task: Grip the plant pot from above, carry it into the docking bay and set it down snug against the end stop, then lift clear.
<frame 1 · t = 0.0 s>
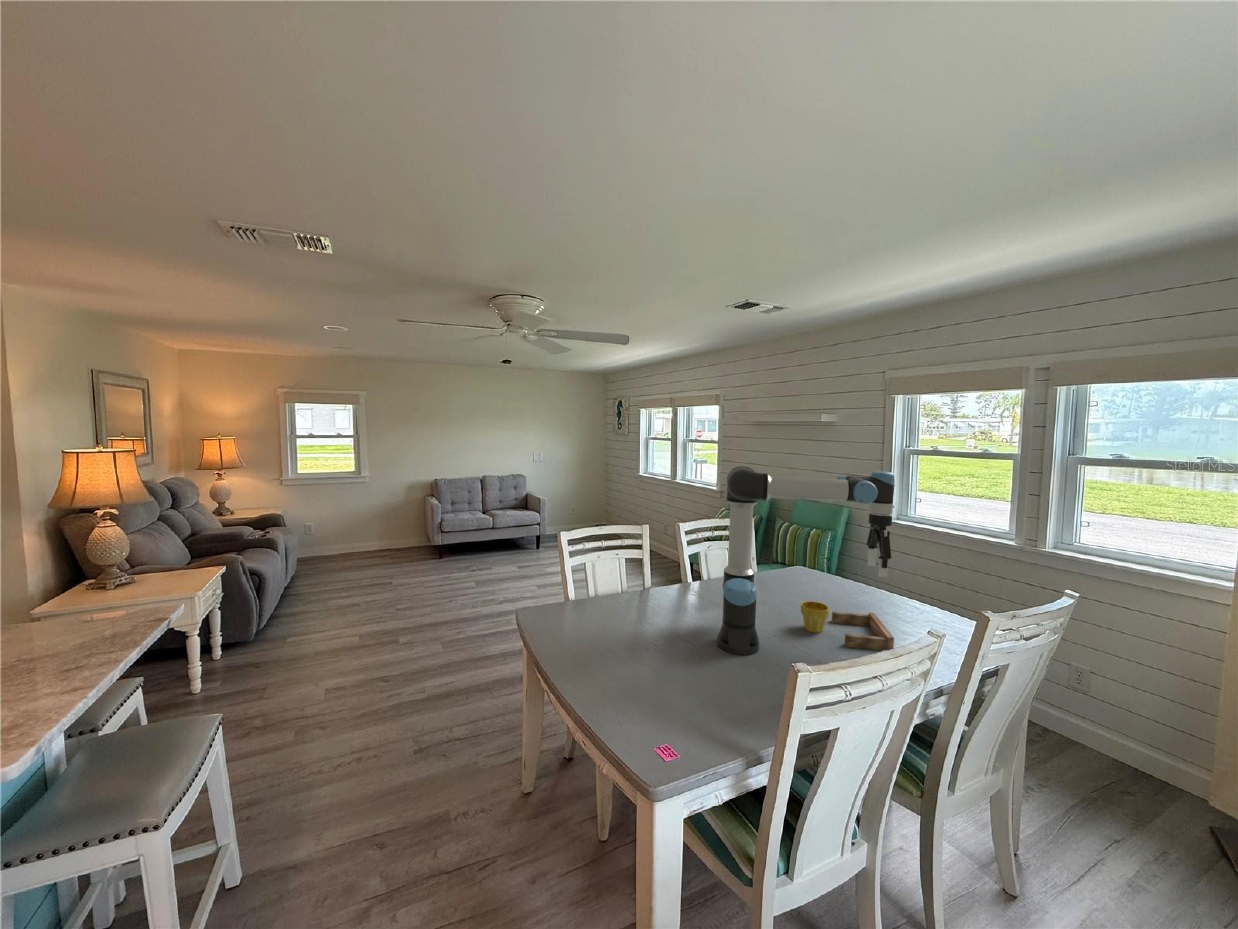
hand: (876, 571, 181), 28 cm above the table, tool pointing down, fingers open, 13 cm apart
docking bay: (857, 634, 192), on the table
plant pot: (813, 630, 196), on the table
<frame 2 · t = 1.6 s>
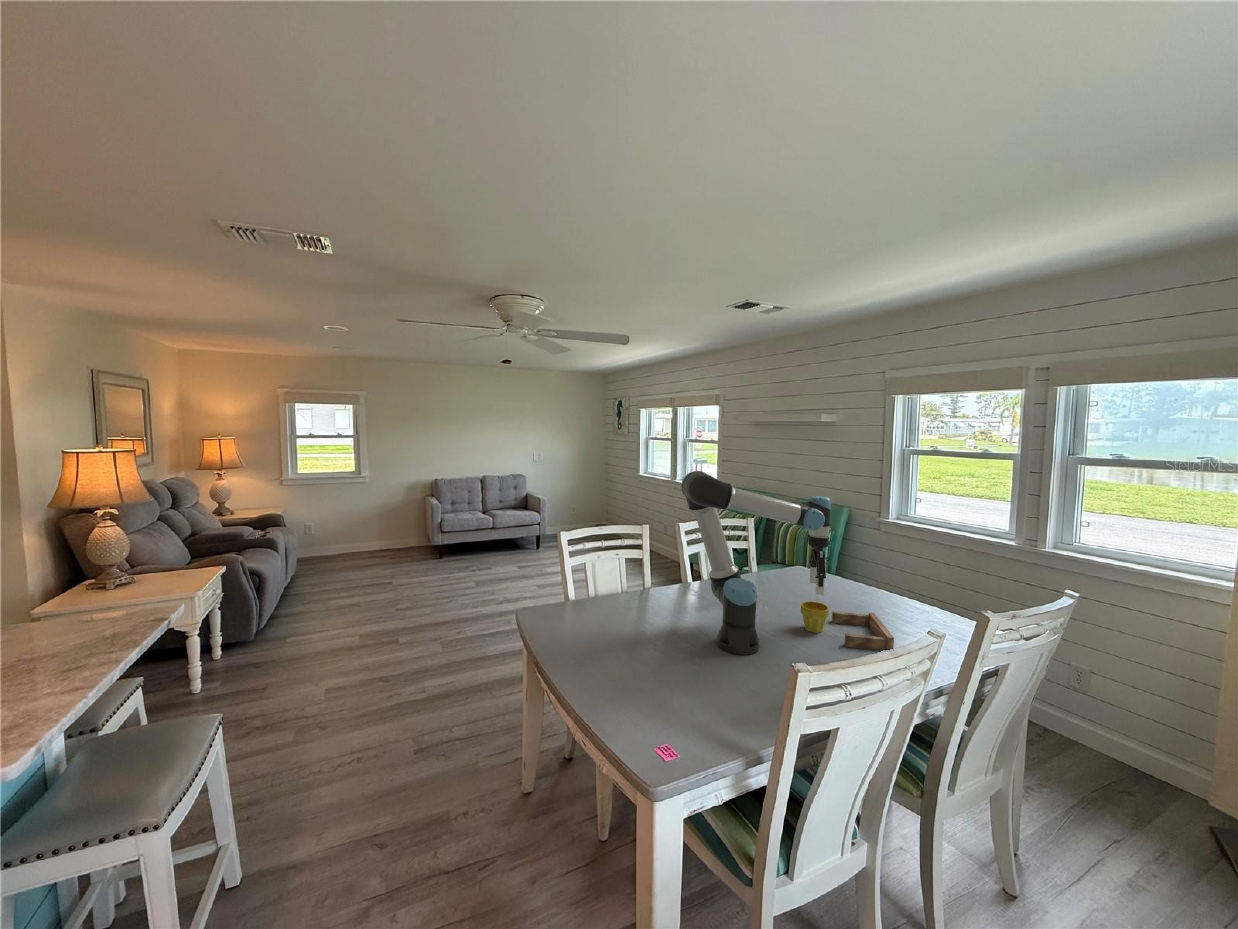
hand: (816, 588, 194), 17 cm above the table, tool pointing down, fingers open, 13 cm apart
nothing on the table moved.
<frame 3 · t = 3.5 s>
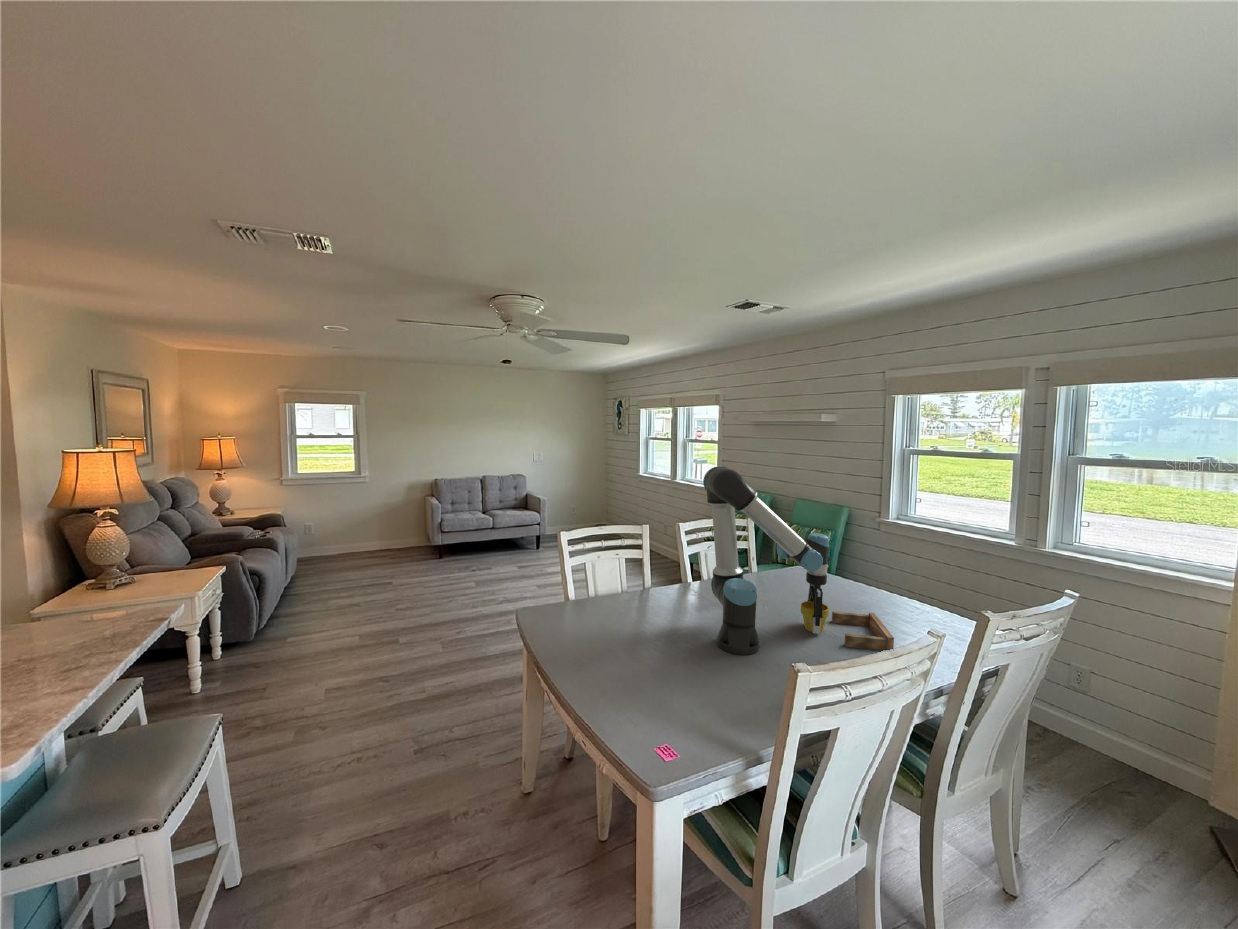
hand: (813, 627, 196), 1 cm above the table, tool pointing down, fingers closed on plant pot, 10 cm apart
plant pot: (813, 630, 196), on the table, touching gripper
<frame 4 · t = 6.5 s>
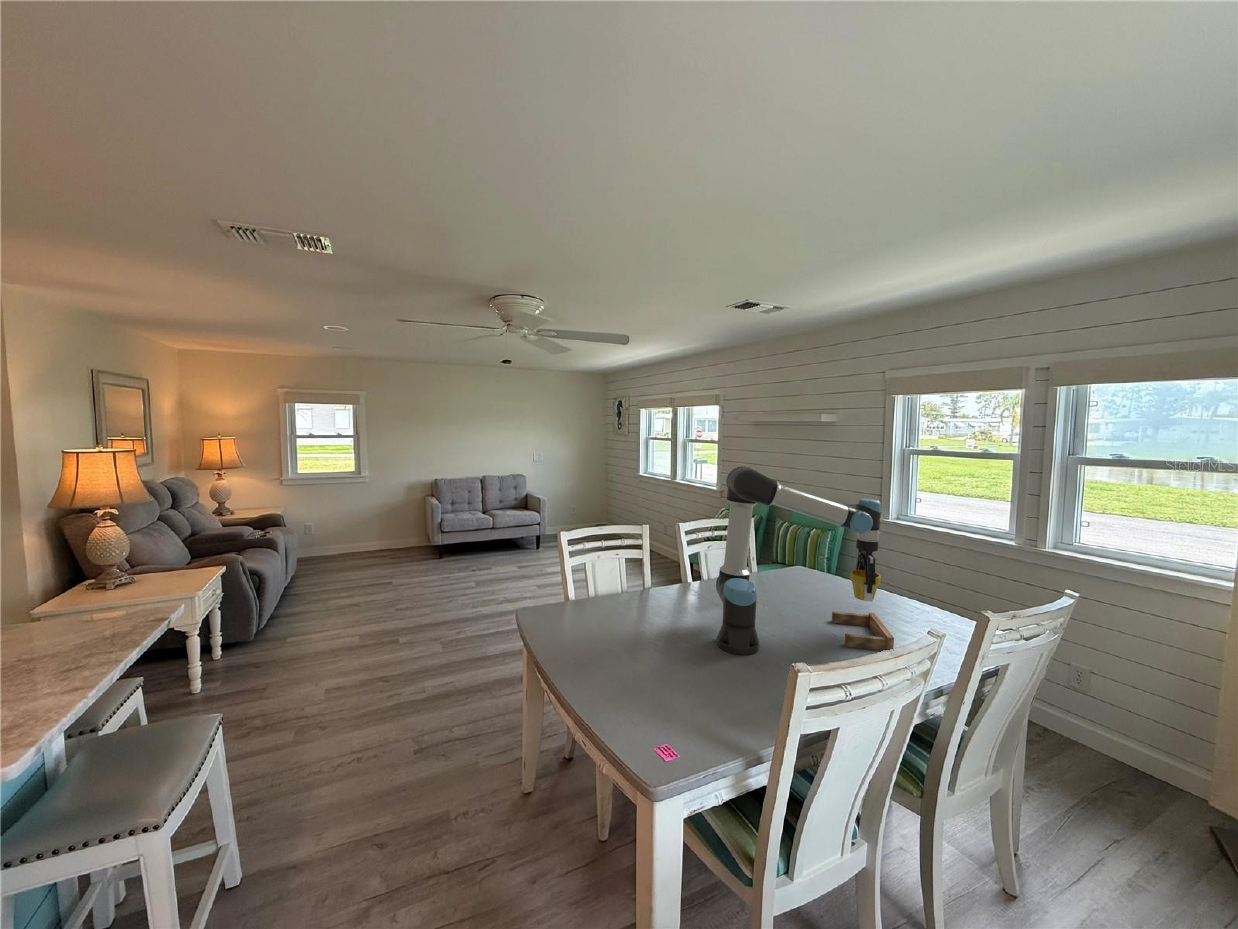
hand: (864, 596, 190), 16 cm above the table, tool pointing down, fingers closed on plant pot, 10 cm apart
plant pot: (863, 598, 190), point 15 cm above the table, touching gripper
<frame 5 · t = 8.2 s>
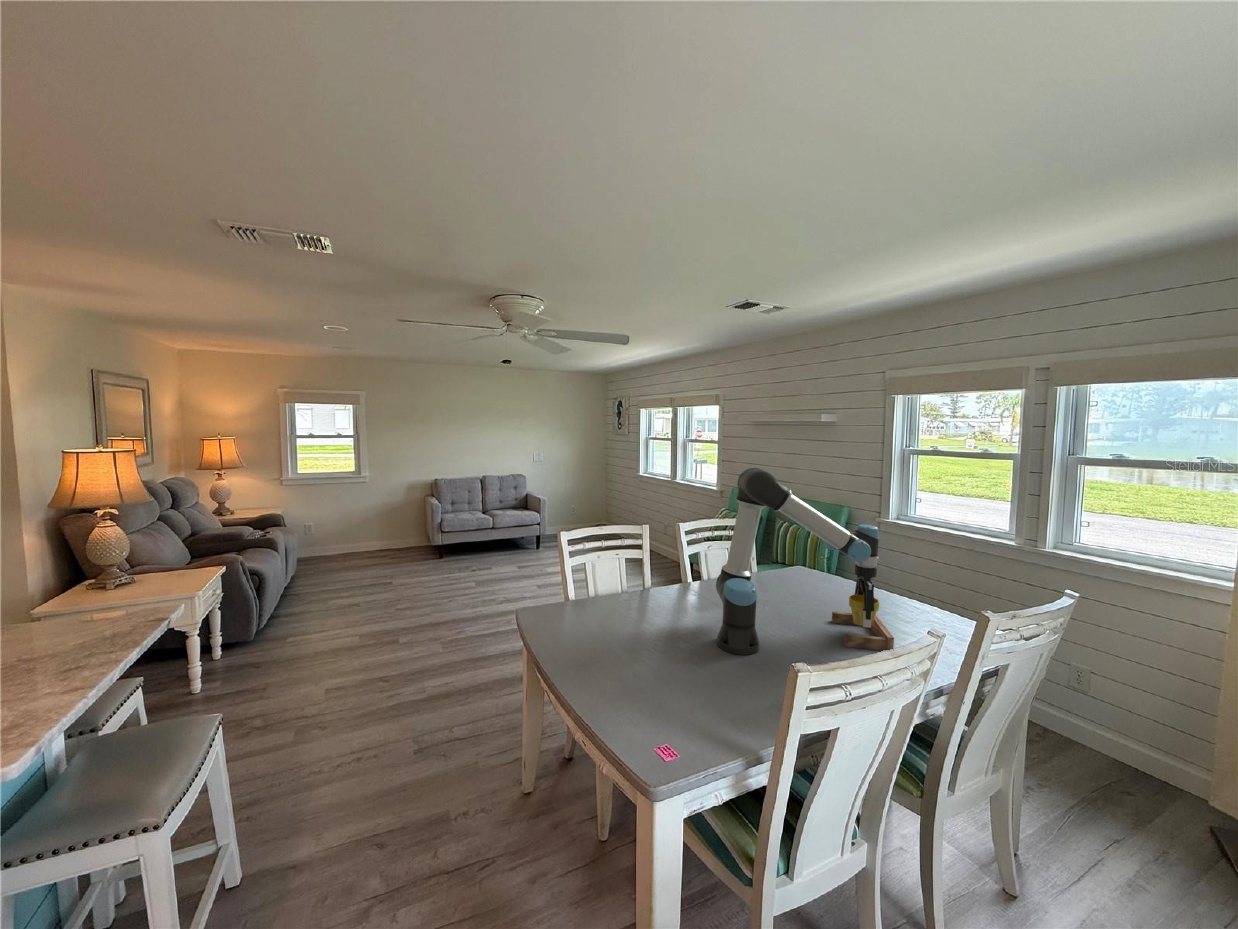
hand: (862, 621, 191), 6 cm above the table, tool pointing down, fingers closed on plant pot, 10 cm apart
plant pot: (862, 623, 191), point 5 cm above the table, touching gripper
when the fingers open (2 cm above the table, at t = 9.5 s): plant pot drops 1 cm, on the table.
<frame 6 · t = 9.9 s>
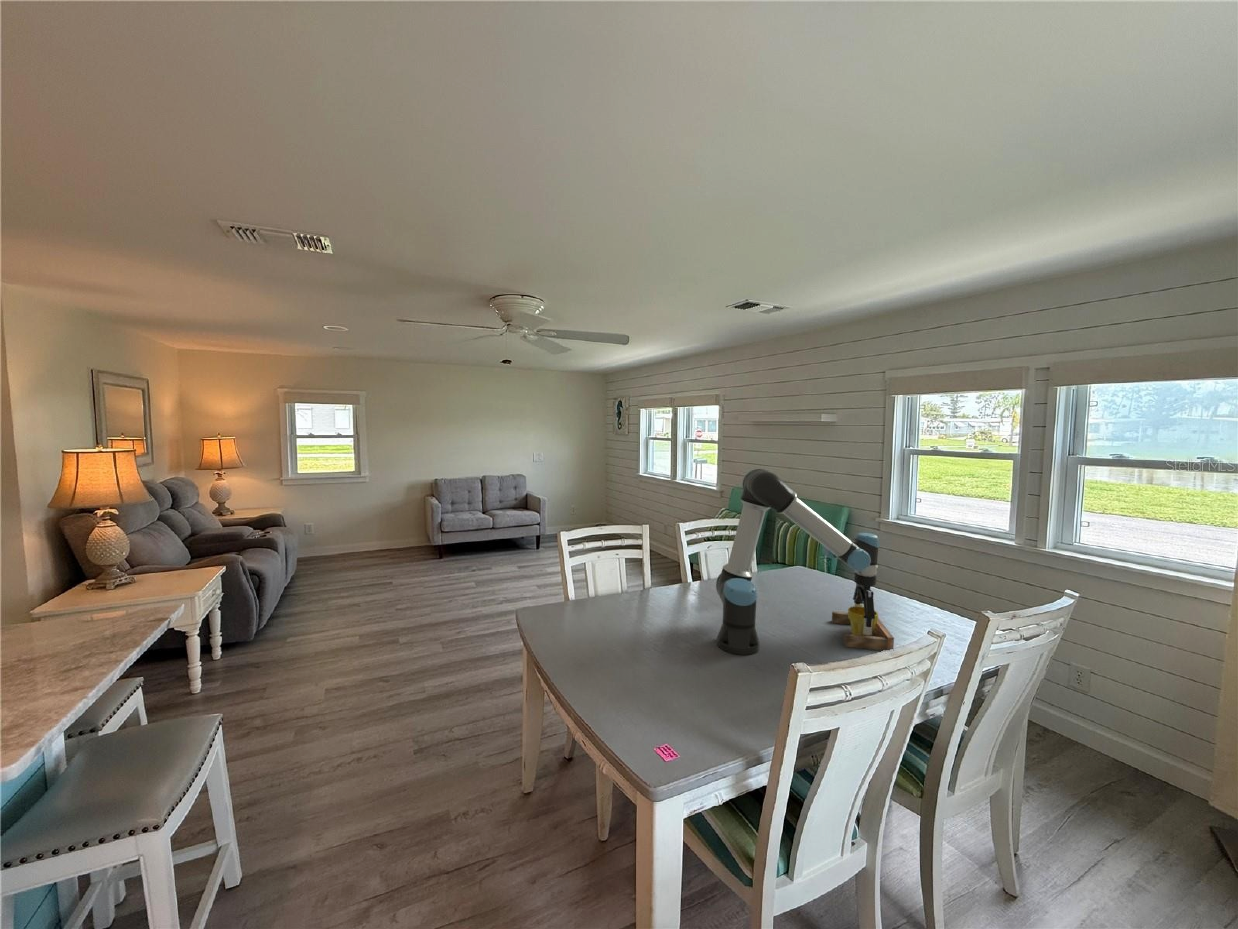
hand: (862, 627, 191), 3 cm above the table, tool pointing down, fingers open, 13 cm apart
plant pot: (861, 635, 191), on the table
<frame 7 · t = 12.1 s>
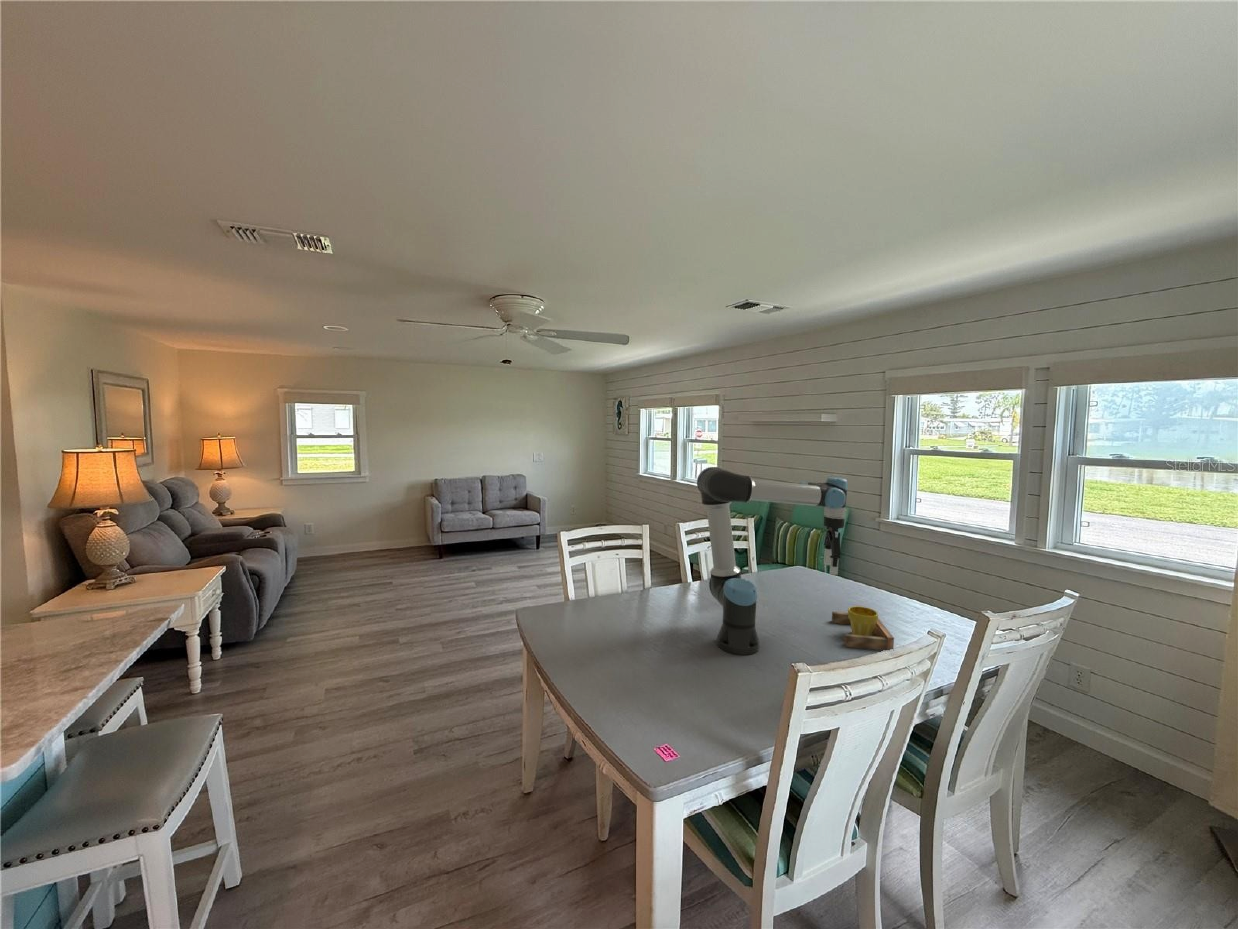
hand: (830, 569, 196), 24 cm above the table, tool pointing down, fingers open, 13 cm apart
nothing on the table moved.
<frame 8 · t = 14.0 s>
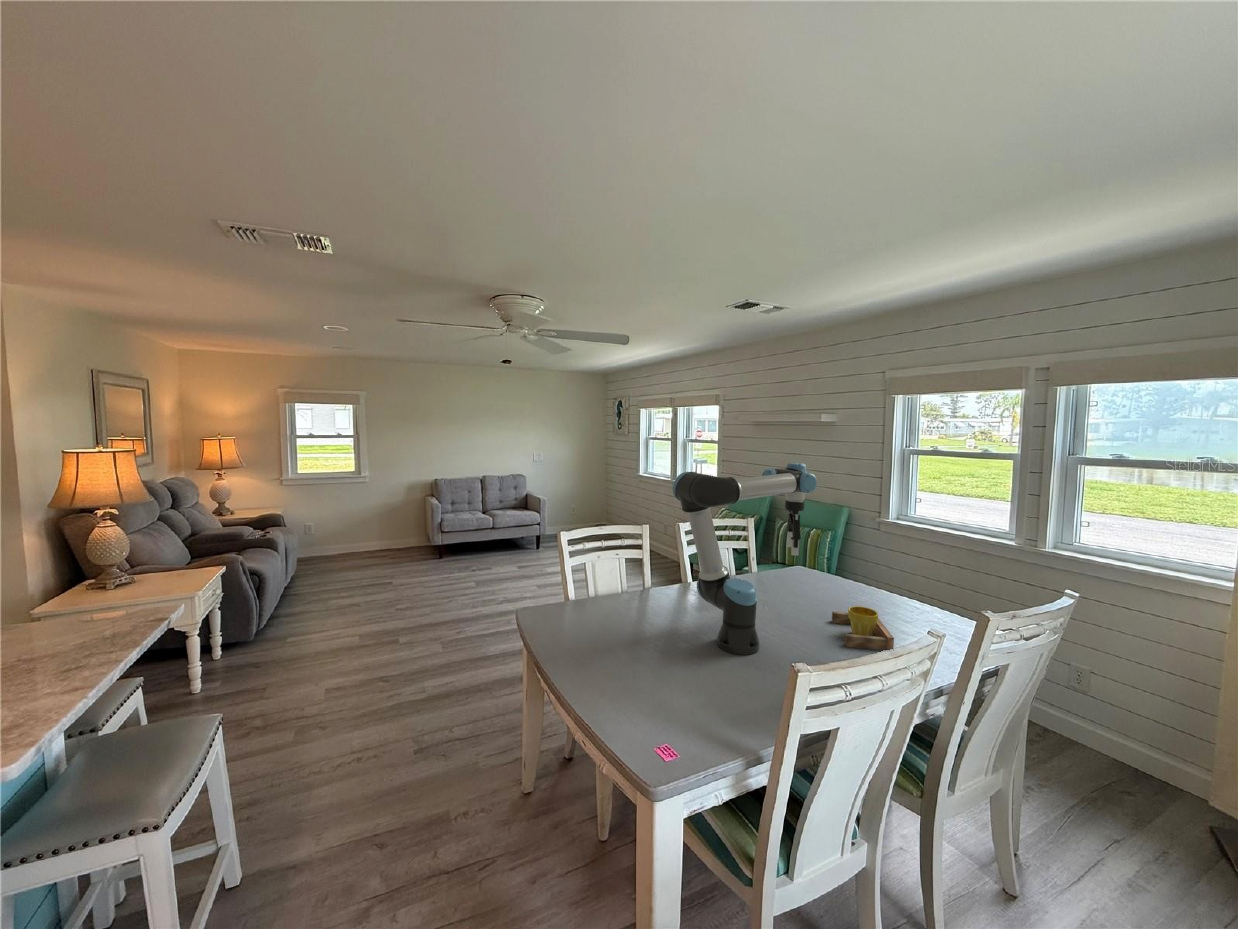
hand: (792, 551, 205), 29 cm above the table, tool pointing down, fingers open, 13 cm apart
nothing on the table moved.
at the end: plant pot 0.4 cm from the target spot, on the table; plant pot tilted 0°; the gripper is holding nothing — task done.
